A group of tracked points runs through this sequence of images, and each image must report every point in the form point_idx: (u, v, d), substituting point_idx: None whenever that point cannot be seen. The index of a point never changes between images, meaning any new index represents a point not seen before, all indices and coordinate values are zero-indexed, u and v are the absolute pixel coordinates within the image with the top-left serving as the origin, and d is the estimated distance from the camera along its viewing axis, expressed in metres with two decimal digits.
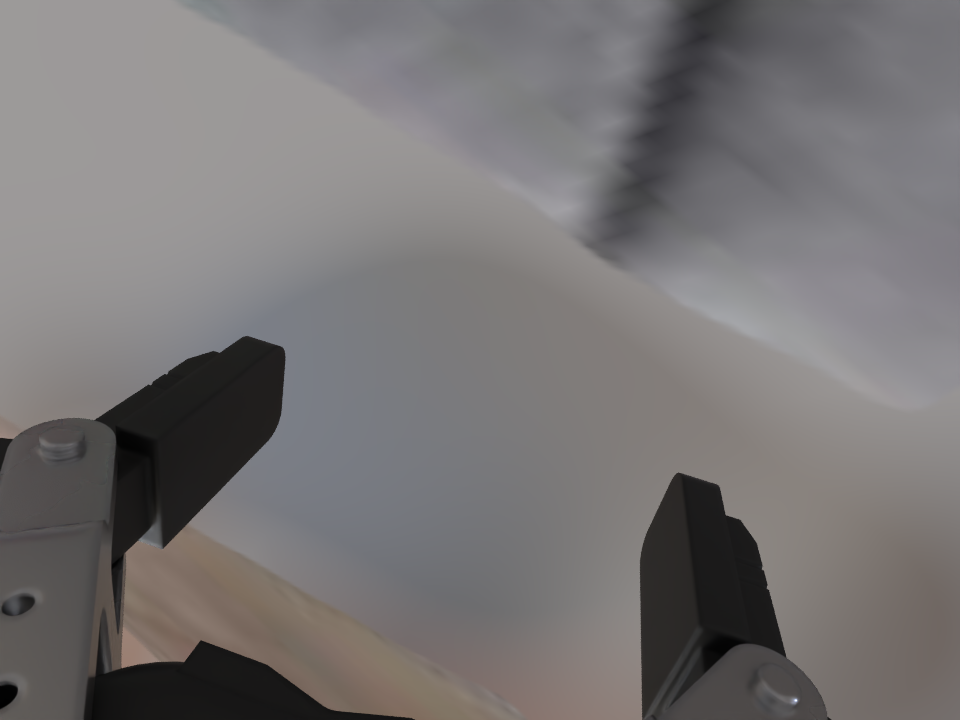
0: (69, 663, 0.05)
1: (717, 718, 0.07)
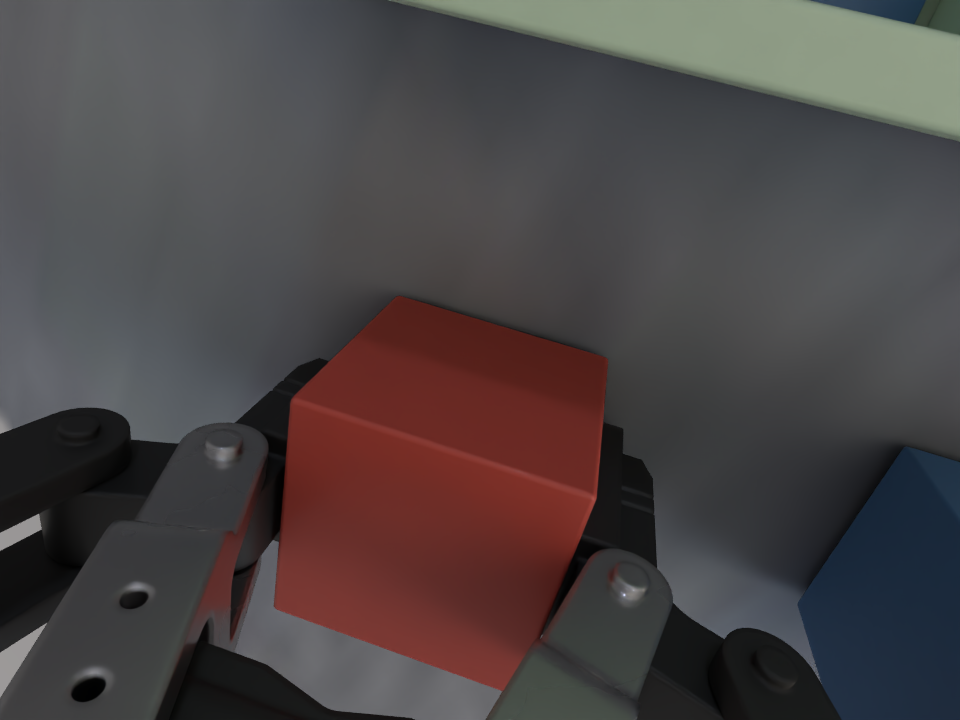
0: (154, 673, 0.05)
1: (570, 601, 0.08)
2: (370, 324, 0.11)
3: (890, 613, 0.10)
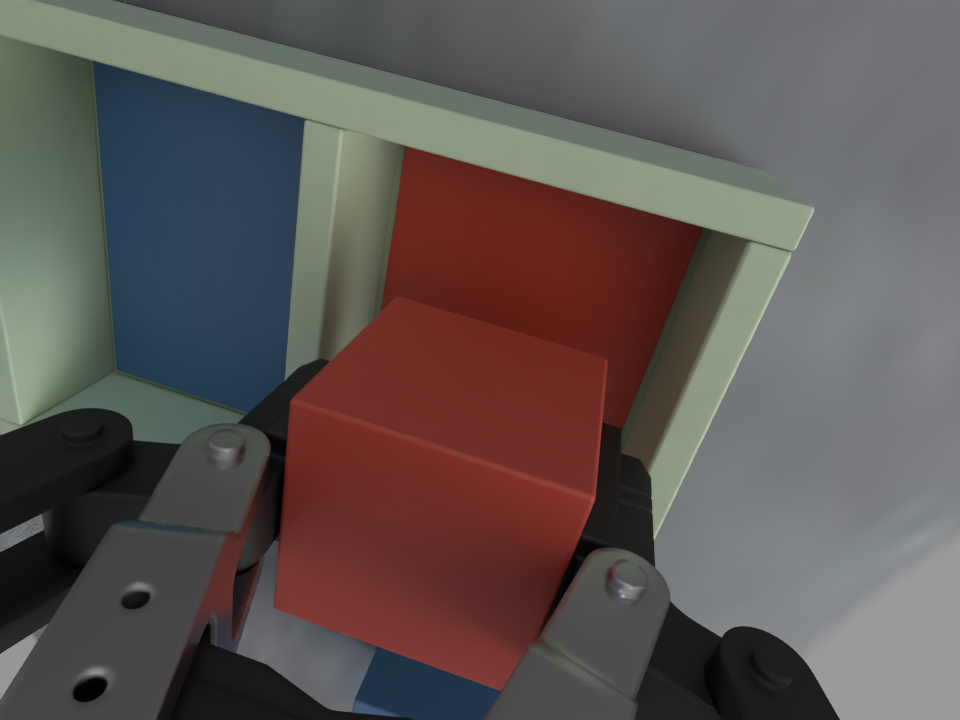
0: (156, 673, 0.05)
1: (568, 600, 0.08)
2: (370, 325, 0.11)
3: None
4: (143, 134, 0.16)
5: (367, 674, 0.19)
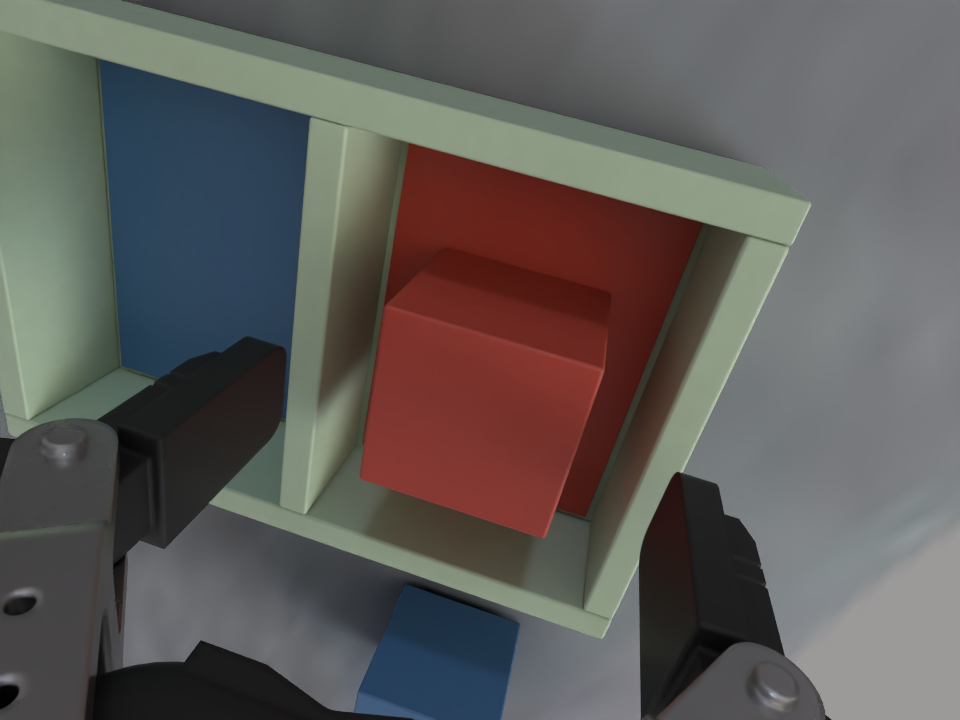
0: (71, 663, 0.05)
1: (715, 716, 0.07)
2: (429, 264, 0.14)
3: None
4: (149, 132, 0.16)
5: (370, 667, 0.19)
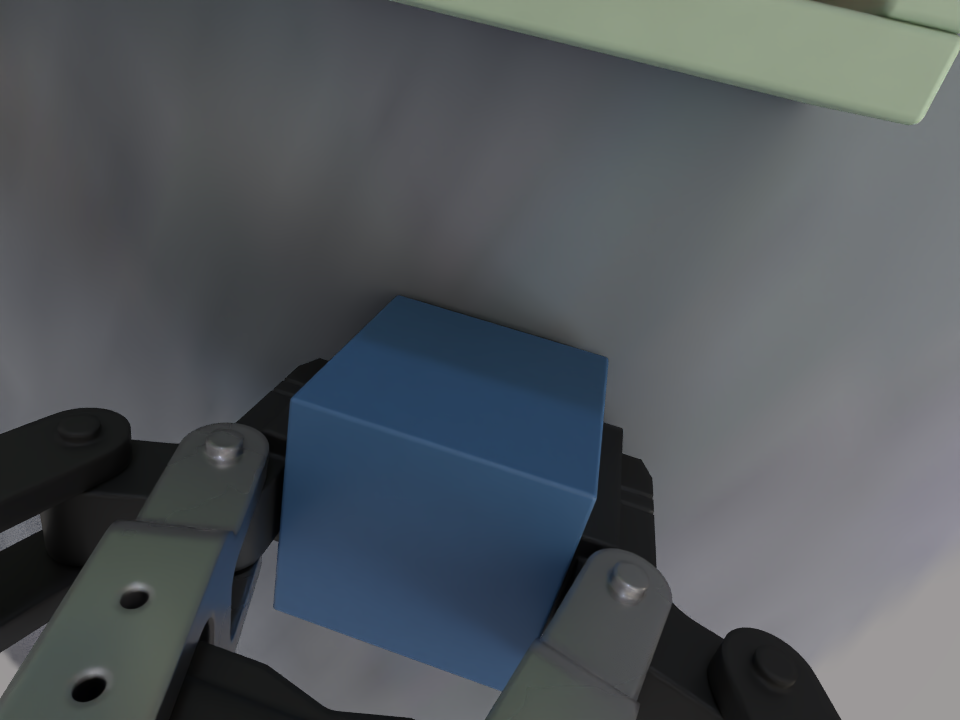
0: (155, 673, 0.05)
1: (569, 601, 0.08)
2: None
3: None
4: None
5: (321, 371, 0.09)
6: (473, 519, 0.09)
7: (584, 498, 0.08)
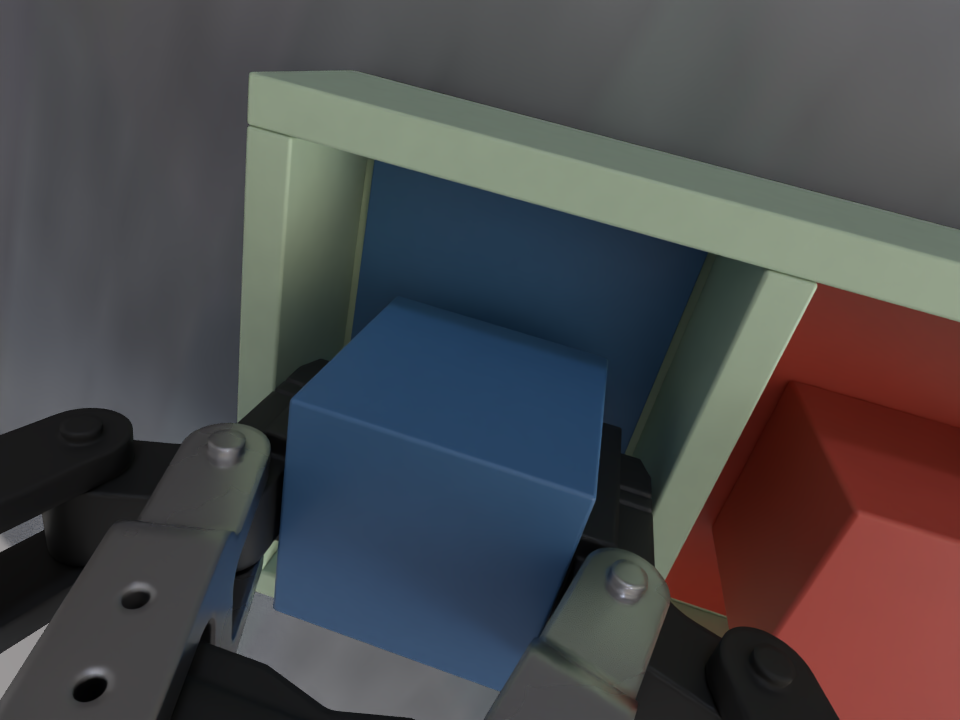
0: (156, 673, 0.05)
1: (567, 600, 0.08)
2: (812, 417, 0.12)
3: None
4: (423, 237, 0.13)
5: (320, 372, 0.09)
6: (472, 520, 0.09)
7: (583, 499, 0.08)
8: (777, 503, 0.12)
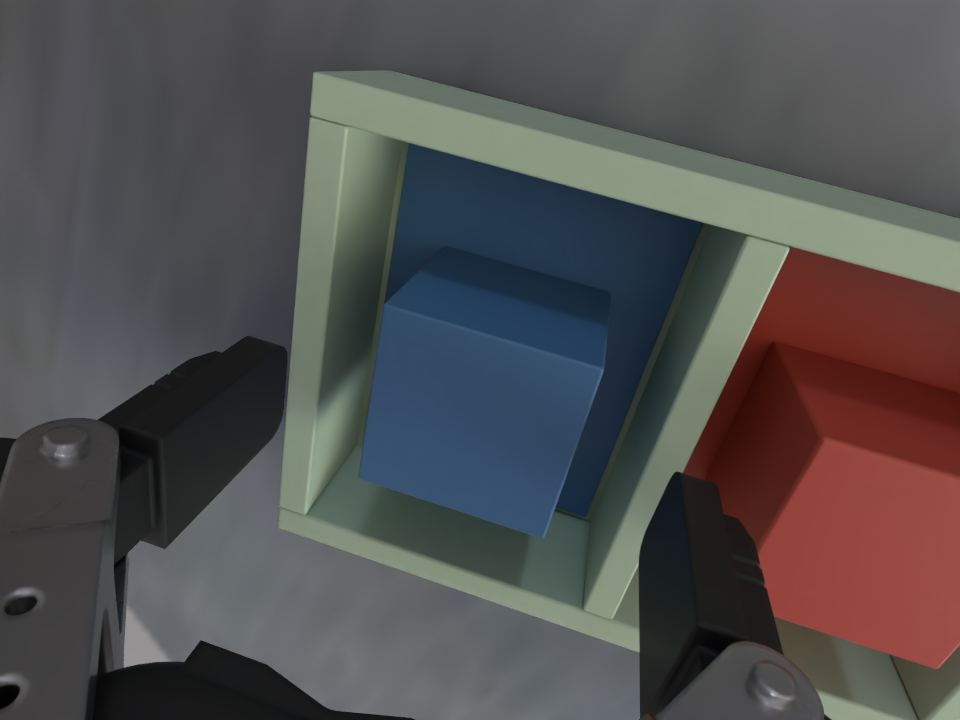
0: (71, 663, 0.05)
1: (714, 715, 0.07)
2: (791, 370, 0.13)
3: None
4: (450, 217, 0.15)
5: (400, 290, 0.12)
6: (515, 392, 0.12)
7: (595, 370, 0.11)
8: (761, 445, 0.14)
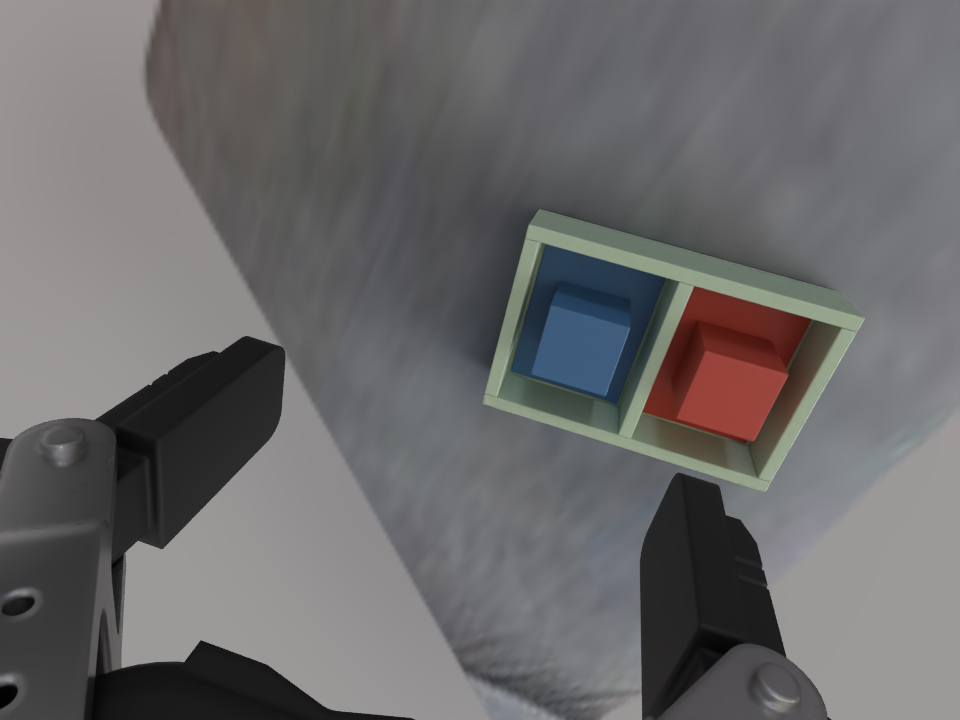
0: (69, 663, 0.05)
1: (717, 718, 0.07)
2: (701, 330, 0.34)
3: None
4: (562, 268, 0.36)
5: (553, 299, 0.33)
6: (597, 337, 0.33)
7: (627, 328, 0.32)
8: (690, 360, 0.35)
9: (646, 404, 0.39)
